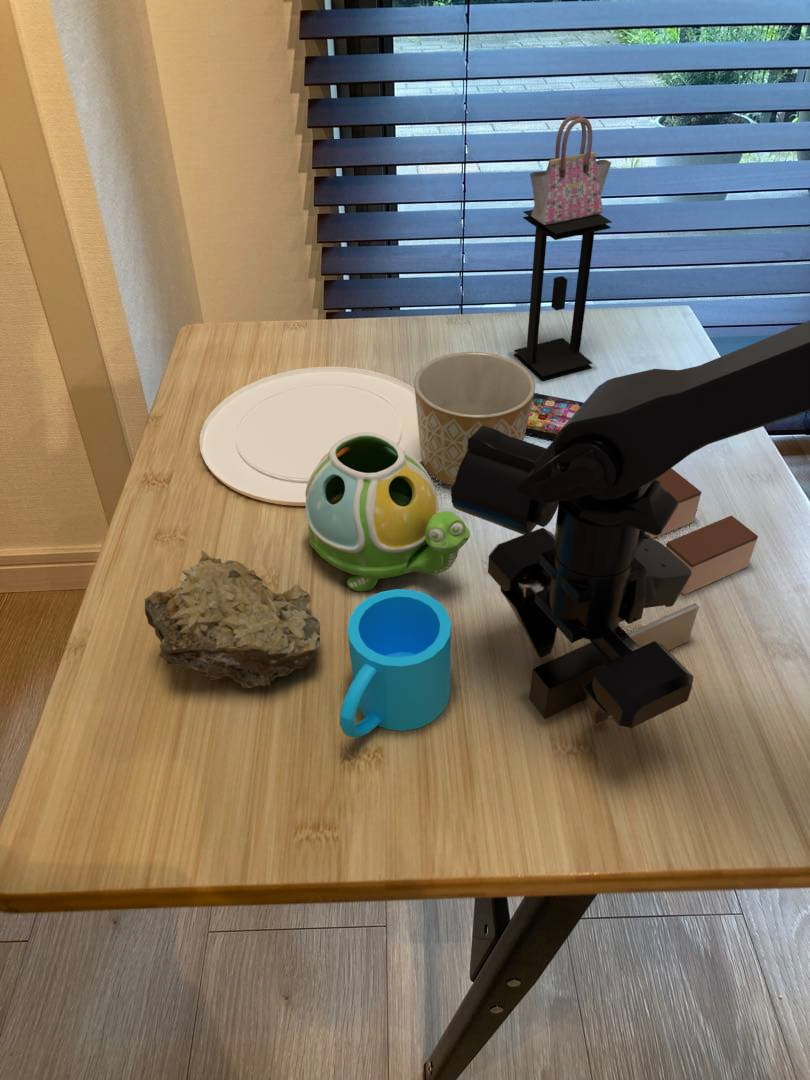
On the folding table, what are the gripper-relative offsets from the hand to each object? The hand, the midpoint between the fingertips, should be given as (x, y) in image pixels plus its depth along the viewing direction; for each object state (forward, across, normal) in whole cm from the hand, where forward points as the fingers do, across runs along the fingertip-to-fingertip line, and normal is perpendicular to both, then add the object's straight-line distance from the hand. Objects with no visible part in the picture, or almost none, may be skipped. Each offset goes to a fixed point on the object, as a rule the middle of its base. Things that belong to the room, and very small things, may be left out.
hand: (570, 686), depth 71 cm
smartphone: (+1, +34, -22) cm, 41 cm away
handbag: (+1, +46, -30) cm, 55 cm away
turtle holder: (+1, +23, +6) cm, 24 cm away
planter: (+1, +32, -9) cm, 33 cm away
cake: (+1, +16, -20) cm, 26 cm away
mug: (+1, +6, +14) cm, 15 cm away
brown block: (+1, +6, -20) cm, 21 cm away
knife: (+1, 0, -5) cm, 5 cm away
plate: (+1, +46, +4) cm, 46 cm away
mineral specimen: (+1, +18, +22) cm, 28 cm away
